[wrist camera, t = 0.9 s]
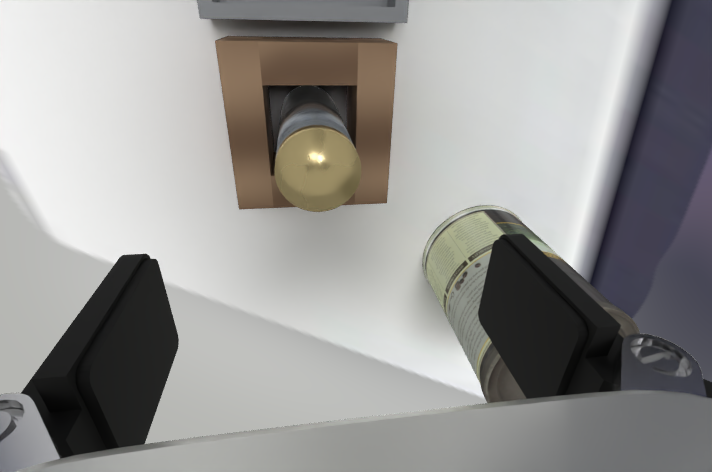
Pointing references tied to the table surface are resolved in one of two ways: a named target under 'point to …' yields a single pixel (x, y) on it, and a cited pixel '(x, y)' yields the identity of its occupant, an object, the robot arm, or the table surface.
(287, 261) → the table surface
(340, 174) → the steel pin
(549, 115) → the table surface
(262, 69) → the block
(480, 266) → the coffee can
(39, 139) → the table surface
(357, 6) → the tray
